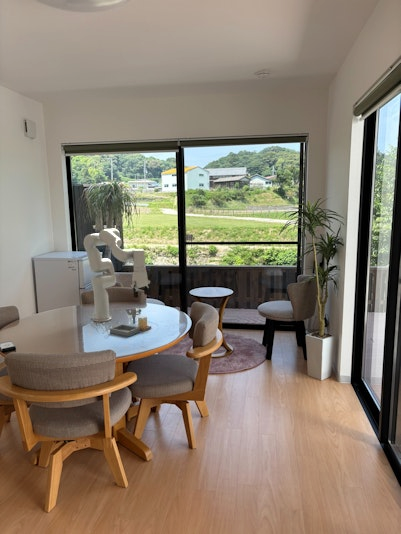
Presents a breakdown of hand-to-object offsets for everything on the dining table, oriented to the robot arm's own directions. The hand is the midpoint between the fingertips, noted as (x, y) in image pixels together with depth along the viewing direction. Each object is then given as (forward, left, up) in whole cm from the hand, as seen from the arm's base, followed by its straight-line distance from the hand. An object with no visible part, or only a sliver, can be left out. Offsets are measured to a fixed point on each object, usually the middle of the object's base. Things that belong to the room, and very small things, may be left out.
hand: (141, 296), depth 254 cm
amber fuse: (0, 0, -22) cm, 22 cm away
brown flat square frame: (0, 0, -22) cm, 22 cm away
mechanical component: (-14, +7, -22) cm, 27 cm away
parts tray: (-5, -11, -22) cm, 25 cm away
